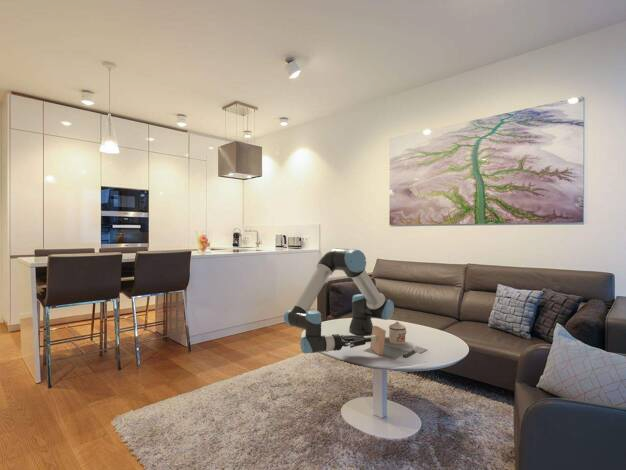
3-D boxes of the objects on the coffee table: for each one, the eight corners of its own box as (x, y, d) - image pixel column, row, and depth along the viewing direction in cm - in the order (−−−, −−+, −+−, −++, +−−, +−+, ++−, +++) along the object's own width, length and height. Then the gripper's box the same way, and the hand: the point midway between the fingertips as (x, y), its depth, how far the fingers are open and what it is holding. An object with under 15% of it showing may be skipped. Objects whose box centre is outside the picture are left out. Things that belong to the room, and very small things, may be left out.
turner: (410, 360, 168) (410, 356, 168) (398, 356, 172) (398, 353, 172) (427, 349, 183) (427, 346, 183) (416, 347, 187) (416, 343, 187)
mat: (363, 351, 179) (363, 350, 179) (379, 344, 191) (379, 343, 191) (394, 360, 167) (394, 359, 167) (409, 352, 179) (409, 351, 179)
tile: (378, 354, 172) (381, 330, 173) (370, 348, 181) (372, 325, 181) (383, 354, 173) (386, 330, 173) (374, 348, 182) (377, 326, 182)
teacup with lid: (398, 346, 188) (398, 325, 187) (385, 342, 195) (385, 321, 195) (412, 342, 195) (412, 321, 195) (399, 338, 202) (399, 318, 202)
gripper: (327, 346, 175) (369, 341, 182) (337, 354, 163) (381, 349, 170) (327, 331, 175) (369, 327, 182) (337, 339, 162) (382, 334, 170)
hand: (375, 338), depth 176 cm, fingers closed
